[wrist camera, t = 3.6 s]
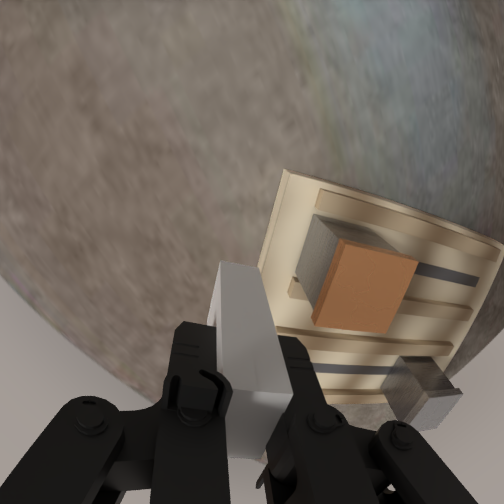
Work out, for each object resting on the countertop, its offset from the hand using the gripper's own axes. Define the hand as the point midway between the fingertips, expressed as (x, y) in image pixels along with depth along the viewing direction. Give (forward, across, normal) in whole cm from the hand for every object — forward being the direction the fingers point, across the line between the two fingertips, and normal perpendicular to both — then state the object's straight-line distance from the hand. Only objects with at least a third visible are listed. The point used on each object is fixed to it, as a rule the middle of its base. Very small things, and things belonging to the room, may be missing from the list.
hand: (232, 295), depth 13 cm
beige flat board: (+10, +14, -4) cm, 17 cm away
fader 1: (+7, +7, 0) cm, 10 cm away
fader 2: (+8, +19, -10) cm, 22 cm away
